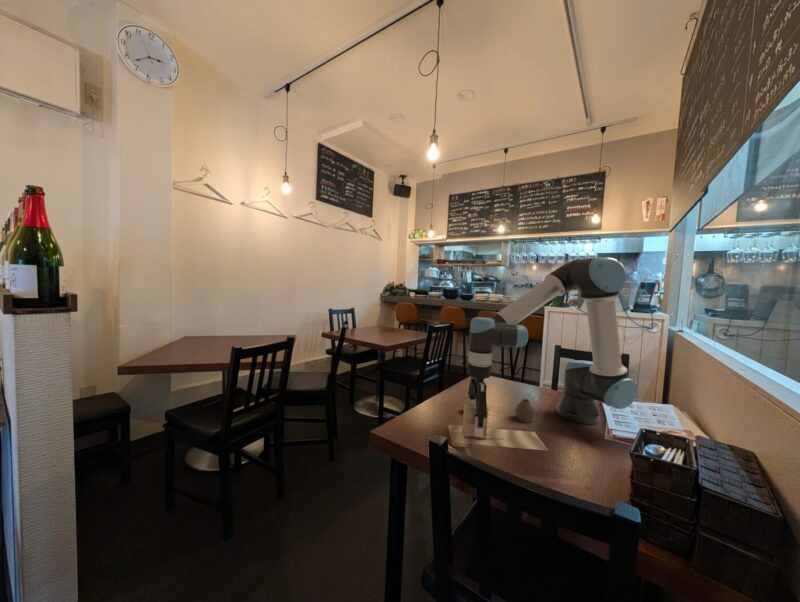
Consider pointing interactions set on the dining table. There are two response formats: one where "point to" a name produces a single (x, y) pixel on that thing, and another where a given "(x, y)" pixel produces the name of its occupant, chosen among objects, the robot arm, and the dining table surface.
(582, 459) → the dining table surface
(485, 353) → the robot arm
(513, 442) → the board
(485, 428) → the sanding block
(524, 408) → the vase
